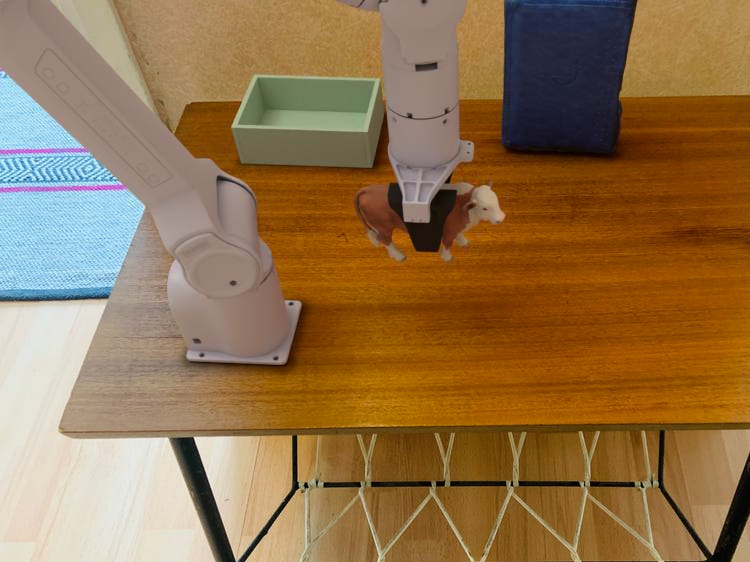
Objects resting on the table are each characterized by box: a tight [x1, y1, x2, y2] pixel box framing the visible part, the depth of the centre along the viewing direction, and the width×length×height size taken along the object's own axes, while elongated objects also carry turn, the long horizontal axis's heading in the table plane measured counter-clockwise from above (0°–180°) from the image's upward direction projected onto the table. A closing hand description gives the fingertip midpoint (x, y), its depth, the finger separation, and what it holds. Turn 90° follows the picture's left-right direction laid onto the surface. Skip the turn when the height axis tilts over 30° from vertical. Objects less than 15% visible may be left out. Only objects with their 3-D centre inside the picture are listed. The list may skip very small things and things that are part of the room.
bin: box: [230, 74, 385, 169], centre depth 94 cm, size 16×11×5 cm
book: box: [500, 0, 639, 154], centre depth 87 cm, size 14×5×20 cm, turn 86°
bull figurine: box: [353, 179, 506, 264], centre depth 69 cm, size 4×13×8 cm, turn 82°
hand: (429, 231), depth 71 cm, fingers closed on bull figurine, 4 cm apart
